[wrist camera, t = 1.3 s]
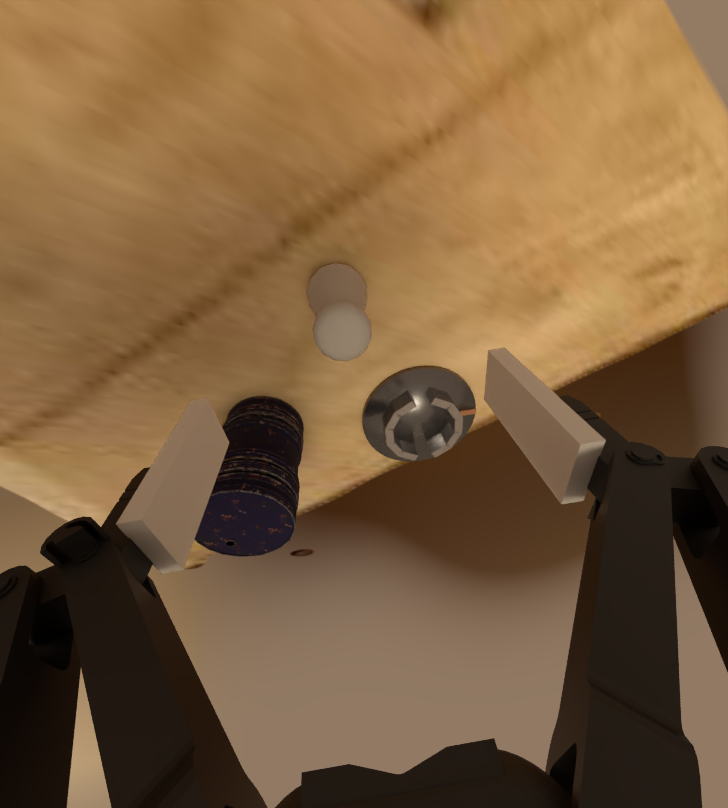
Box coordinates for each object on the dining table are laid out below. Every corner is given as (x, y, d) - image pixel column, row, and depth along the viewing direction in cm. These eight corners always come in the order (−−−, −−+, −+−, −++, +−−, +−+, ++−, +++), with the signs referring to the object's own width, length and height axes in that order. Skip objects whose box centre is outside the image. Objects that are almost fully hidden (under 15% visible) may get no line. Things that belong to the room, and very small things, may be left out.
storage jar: (244, 382, 39) (207, 475, 26) (318, 415, 43) (315, 510, 30) (214, 439, 43) (169, 542, 31) (283, 465, 47) (268, 566, 34)
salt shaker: (297, 296, 34) (286, 350, 23) (326, 246, 32) (327, 279, 21) (345, 325, 36) (355, 386, 26) (375, 280, 34) (399, 326, 23)
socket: (369, 464, 48) (371, 481, 46) (355, 376, 40) (357, 390, 37) (469, 448, 49) (478, 464, 46) (477, 357, 40) (488, 369, 37)
